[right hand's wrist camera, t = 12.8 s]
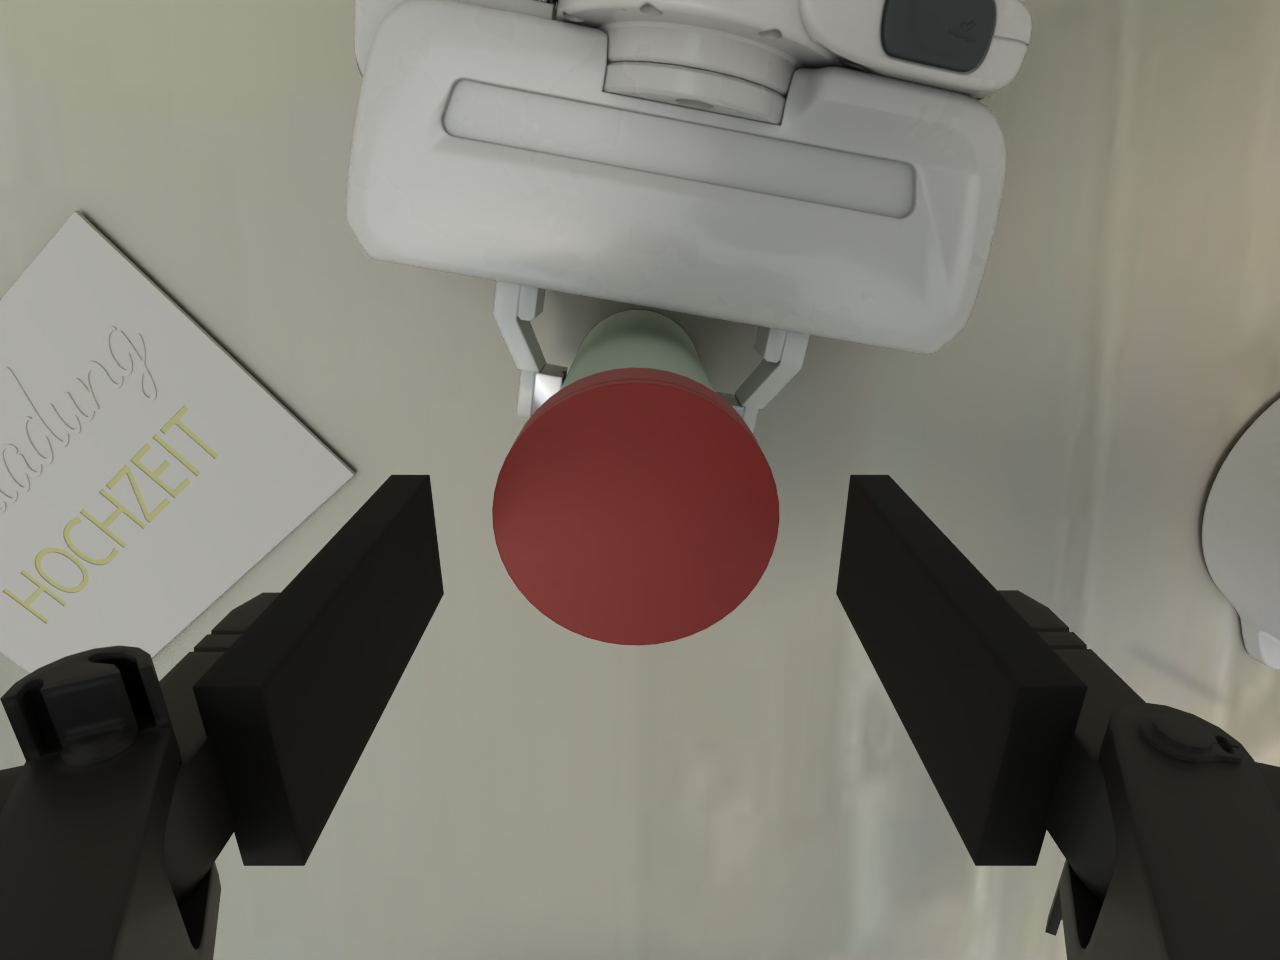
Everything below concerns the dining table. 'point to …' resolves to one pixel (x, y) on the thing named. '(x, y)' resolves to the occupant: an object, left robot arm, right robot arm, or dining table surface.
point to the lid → (635, 507)
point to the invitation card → (131, 459)
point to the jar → (637, 347)
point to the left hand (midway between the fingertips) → (634, 431)
